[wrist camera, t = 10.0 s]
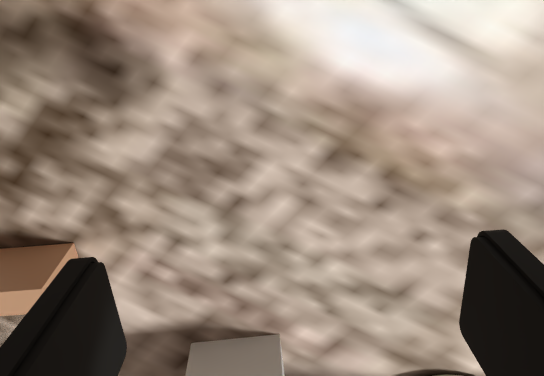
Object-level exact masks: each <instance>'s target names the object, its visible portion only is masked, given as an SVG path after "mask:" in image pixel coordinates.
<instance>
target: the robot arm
mask: <svg viewBox="0 0 544 376" xmlns="http://www.w3.org/2000/svg"><path fill="white" fill-rule="evenodd" d="M459 324H460V330H461V333H462V335H463V337H464V339H465V341H466V342H467V344H468V346H469V348H470V349H471V351H472V353H473V354H474V356H475V358H476V359H477V361H478V363H479V364H480V366H481V368H482V369H483V371H484V373H485V375H486V376H544V264H542V263H541V262H540V261H539V260H538V259H537V258H536V257H535V256H534V255H533V254H532V253H531V252H530V251H529V250H528V249H527V248H525V247H524V246H523V245H522V244H521V243H520V242H519V241H518V240H517V239H516V238H515V237H514V236H513V235H512V234H511V233H509V232H508V231H507V230H492V231H481V232H479V234H478V236H477V237H474V238H473V239H472V240H471V244H470V251H469V258H468V265H467V272H466V279H465V286H464V292H463V299H462V306H461V313H460V321H459ZM126 349H127V345H126V339H125V336H124V332H123V329H122V325H121V322H120V318H119V315H118V311H117V307H116V304H115V300H114V297H113V293H112V290H111V286H110V283H109V279H108V275H107V272H106V268H105V266H104V264H103V263H102V262H98V261H97V260H96V258H94V257H89V258H74V259H70V260H68V261H67V263H66V264H65V265H64V266H63V268H62V269H61V270H60V272H59V273H58V274H57V275H56V277H55V278H54V279H53V281H52V282H51V283H50V284H49V286H48V287H47V288H46V290H45V291H44V292H43V293H42V295H41V296H40V297H39V299H38V300H37V301H36V302H35V304H34V305H33V306H32V308H31V309H30V310H29V311H28V313H27V314H26V315H25V317H24V318H23V319H22V320H21V322H20V323H19V324H18V326H17V327H16V328H15V329H14V331H13V332H12V333H11V335H10V336H9V337H8V338H7V340H6V341H5V342H4V344H3V345H2V346H1V347H0V376H118V373H119V371H120V368H121V366H122V364H123V361H124V359H125V356H126ZM434 376H462V375H434Z"/></svg>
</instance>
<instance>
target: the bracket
mask: <svg viewBox="0 0 544 376" xmlns="http://www.w3.org/2000/svg"><path fill="white" fill-rule="evenodd" d="M74 258H79V257H78V254H77V251H76V248H75V245H74V243H68V244H56V245H43V246H30V247H17V248H4V249H0V316H9V315H22V314H27V313H28V311H29V310H30V309H31V308H32V306H33V305H34V304H35V302H36V301H37V300H38V299H39V297H40V296H41V295H42V293H43V292H44V291H45V290H46V288H47V287H48V286H49V284H50V283H51V282H52V281H53V279H54V278H55V277H56V275H57V274H58V273H59V272H60V270H61V269H62V268H63V266H64V265H65V264H66V263H67V261H68V260H70V259H74Z"/></svg>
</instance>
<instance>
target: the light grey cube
mask: <svg viewBox="0 0 544 376" xmlns="http://www.w3.org/2000/svg"><path fill="white" fill-rule="evenodd" d="M185 376H285V373H284V365H283V357H282V349H281V341H280V334H275V335H265V336H256V337H246V338H236V339H226V340H216V341H206V342H196V343H191V347H190V353H189V358H188V364H187V369H186V375H185Z"/></svg>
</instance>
